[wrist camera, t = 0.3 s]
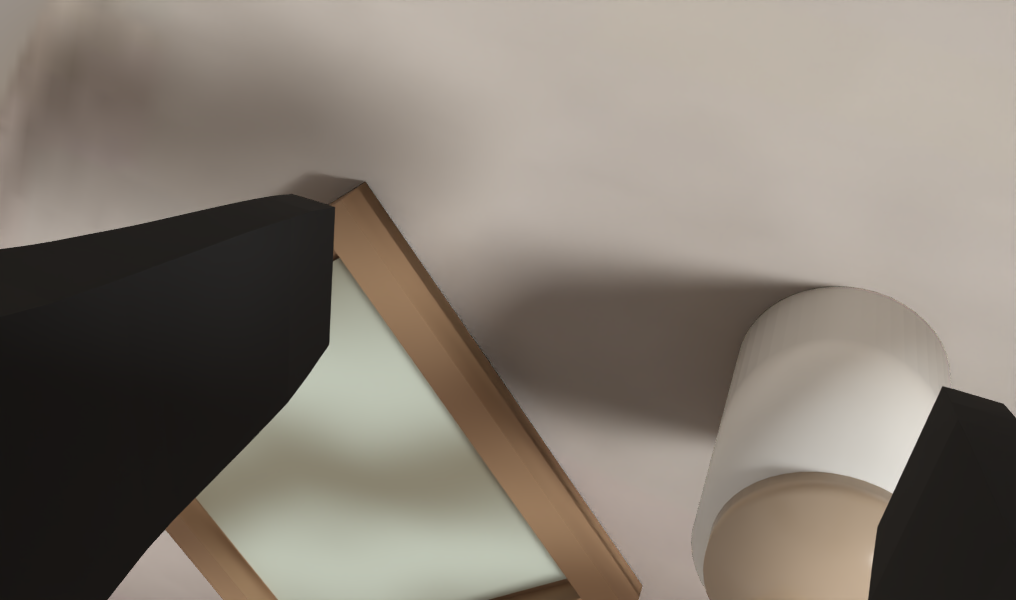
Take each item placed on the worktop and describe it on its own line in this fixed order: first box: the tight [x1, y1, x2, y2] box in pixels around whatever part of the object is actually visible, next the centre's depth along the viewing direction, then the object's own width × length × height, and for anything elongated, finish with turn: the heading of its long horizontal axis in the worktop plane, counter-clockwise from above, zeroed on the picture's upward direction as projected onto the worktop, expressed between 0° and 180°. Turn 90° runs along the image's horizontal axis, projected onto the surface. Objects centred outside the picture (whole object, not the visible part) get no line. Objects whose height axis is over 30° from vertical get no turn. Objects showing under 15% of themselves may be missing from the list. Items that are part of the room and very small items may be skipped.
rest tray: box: [165, 182, 642, 600], centre depth 27 cm, size 13×13×1 cm
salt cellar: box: [691, 287, 952, 600], centre depth 18 cm, size 4×4×7 cm
